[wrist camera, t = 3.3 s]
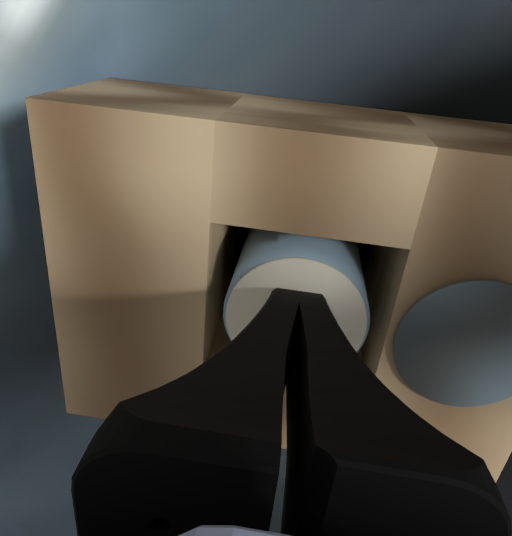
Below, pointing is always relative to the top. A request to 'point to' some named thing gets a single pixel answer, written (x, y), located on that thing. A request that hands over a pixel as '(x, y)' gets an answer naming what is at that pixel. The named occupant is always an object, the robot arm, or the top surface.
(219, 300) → the socket block
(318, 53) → the top surface
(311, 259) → the peg
